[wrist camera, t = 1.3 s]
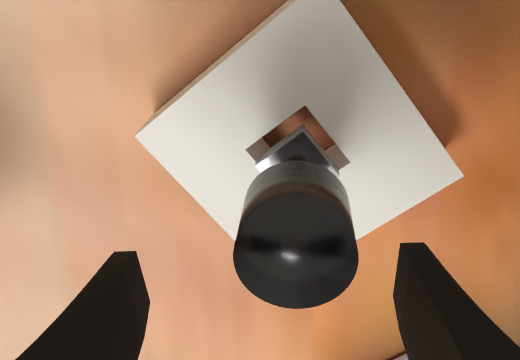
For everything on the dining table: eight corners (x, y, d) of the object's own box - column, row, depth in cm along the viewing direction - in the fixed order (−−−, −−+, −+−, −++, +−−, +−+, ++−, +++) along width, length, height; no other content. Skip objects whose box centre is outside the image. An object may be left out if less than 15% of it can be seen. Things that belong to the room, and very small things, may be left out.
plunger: (358, 170, 20) (383, 271, 14) (289, 215, 21) (284, 326, 15) (305, 103, 19) (307, 182, 13) (236, 155, 20) (207, 248, 14)
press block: (445, 148, 23) (463, 176, 20) (281, 251, 27) (278, 286, 24) (320, -28, 20) (323, -23, 17) (153, 113, 24) (134, 136, 21)
